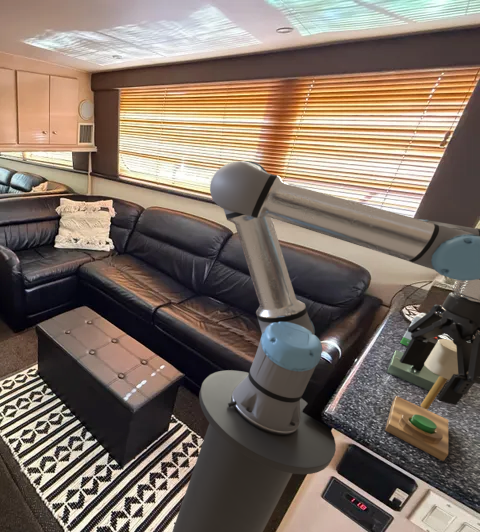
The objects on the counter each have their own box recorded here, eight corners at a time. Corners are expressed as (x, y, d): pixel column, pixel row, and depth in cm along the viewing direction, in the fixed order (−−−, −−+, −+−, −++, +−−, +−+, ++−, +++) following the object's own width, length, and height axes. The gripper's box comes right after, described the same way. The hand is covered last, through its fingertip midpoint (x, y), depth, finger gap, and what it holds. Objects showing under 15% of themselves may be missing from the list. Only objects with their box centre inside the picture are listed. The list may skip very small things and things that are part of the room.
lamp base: (443, 461, 71) (452, 448, 69) (384, 430, 77) (392, 418, 76) (444, 426, 81) (452, 414, 79) (392, 401, 88) (399, 390, 86)
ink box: (416, 350, 115) (433, 322, 111) (399, 343, 119) (414, 315, 115) (424, 345, 120) (440, 318, 116) (406, 338, 124) (422, 311, 119)
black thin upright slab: (420, 371, 98) (437, 343, 94) (411, 367, 99) (428, 340, 95) (421, 364, 101) (438, 337, 98) (413, 360, 103) (429, 334, 99)
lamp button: (432, 436, 72) (436, 431, 72) (409, 424, 75) (412, 419, 74) (433, 428, 75) (437, 422, 74) (410, 417, 78) (413, 411, 77)
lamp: (414, 413, 78) (453, 353, 72) (396, 391, 86) (430, 335, 79) (455, 424, 76) (499, 363, 70) (432, 401, 83) (470, 344, 77)
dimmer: (435, 393, 93) (441, 385, 92) (386, 372, 101) (391, 364, 99) (436, 375, 102) (441, 367, 101) (391, 356, 110) (396, 349, 108)
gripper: (567, 334, 52) (492, 429, 60) (455, 280, 74) (411, 354, 82) (508, 322, 54) (443, 415, 62) (416, 273, 76) (376, 346, 84)
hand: (424, 381), depth 72 cm, fingers open, 13 cm apart
